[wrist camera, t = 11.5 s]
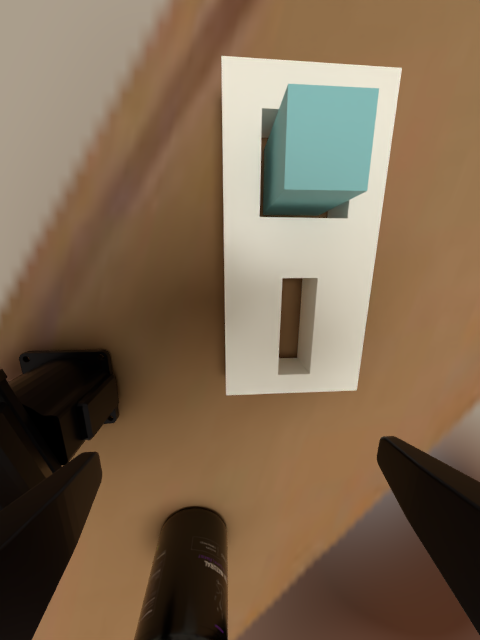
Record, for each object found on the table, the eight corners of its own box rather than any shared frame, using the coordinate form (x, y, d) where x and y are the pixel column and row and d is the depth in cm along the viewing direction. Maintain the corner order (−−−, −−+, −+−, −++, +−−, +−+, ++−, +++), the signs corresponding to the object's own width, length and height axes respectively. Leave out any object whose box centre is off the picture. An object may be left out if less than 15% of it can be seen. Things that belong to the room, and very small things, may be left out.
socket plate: (225, 375, 20) (226, 395, 17) (221, 96, 15) (221, 55, 12) (337, 372, 20) (356, 390, 17) (368, 104, 16) (402, 67, 13)
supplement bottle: (235, 511, 23) (248, 754, 12) (216, 558, 25) (210, 816, 13) (169, 499, 22) (112, 752, 11) (153, 549, 24) (87, 819, 12)
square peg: (262, 215, 17) (284, 189, 11) (264, 149, 16) (288, 83, 10) (318, 215, 17) (367, 190, 11) (322, 151, 16) (379, 88, 10)
